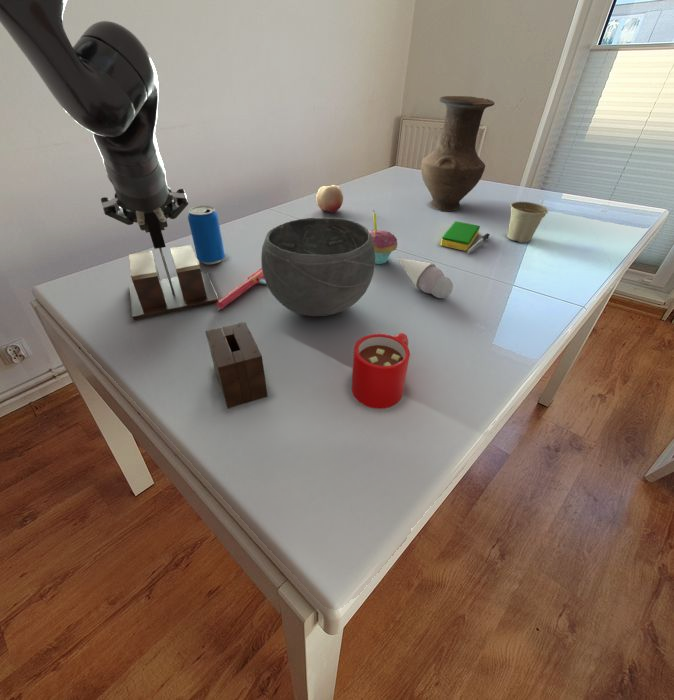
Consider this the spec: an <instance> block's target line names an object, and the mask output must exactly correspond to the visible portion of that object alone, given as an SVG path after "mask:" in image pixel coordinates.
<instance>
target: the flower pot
mask: <svg viewBox="0 0 674 700" xmlns="http://www.w3.org/2000/svg"><path fill="white" fill-rule="evenodd" d="M549 210H550V209H549V208H548V207H547V206H545V205H542V204H541V203H540V204H539V203H535V202H530V201H515V202H512V203H510V219H509V225H508V230H507V236H506V237H507V239H508V240H511V241H513V242H514V241H516V242H518V243H529V242H530V241H531V240H532V239H533V236H534V235H535V234H536V231H537V229H538V227H539V225H540V223H541V222H542V220H543V218H545V216H546V215H547V214H548V213H549Z"/></svg>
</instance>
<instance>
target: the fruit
mask: <svg viewBox="0 0 674 700" xmlns="http://www.w3.org/2000/svg"><path fill="white" fill-rule="evenodd" d="M315 197H316V204H317V206H318V208H319V210H321V211H323V212H327V213H335V212H337V211H338V210H340V209H341V207H342V205H343V203H344V194H343V191H342V189H341V188H340V187H339V186H338V185H337V184H332V185H328V186H326V185H323V186H321V187H319V189H318V190H317V192H316V196H315Z"/></svg>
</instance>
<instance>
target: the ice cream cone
mask: <svg viewBox="0 0 674 700" xmlns="http://www.w3.org/2000/svg"><path fill="white" fill-rule="evenodd" d="M397 260H398V261H399V264H400V265H401V267H402V268H403V269H404V271H405V273H406V274H407V276H408V277H409V279H410V280H411V282H412V283H413V285H414V286H415V288H416V289H417V290H421V291H422V292H423V293H426V294H431V295H433V297H434V298H437V299H443V298H444V299H445V298H447V297H448V296H450V295H451V294H452V292H453V288H454V285H453V282H452V280H451V278H449V277H448V276H446V275H445V274H444V272H443V271H442V269H440V268H438V267H437V265H436V264H435V263H432V262H431V263H430V262H424V261H420V260H413V259H408V258H402V257H397Z"/></svg>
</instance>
